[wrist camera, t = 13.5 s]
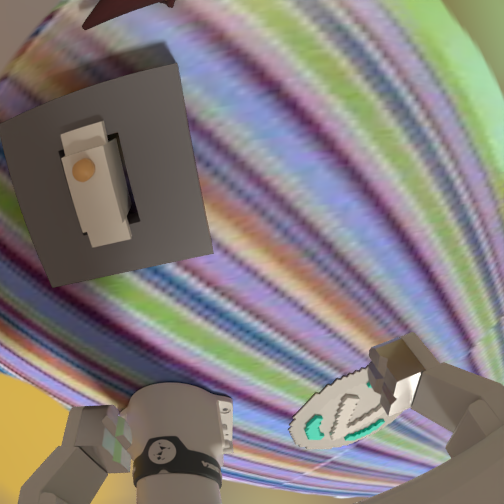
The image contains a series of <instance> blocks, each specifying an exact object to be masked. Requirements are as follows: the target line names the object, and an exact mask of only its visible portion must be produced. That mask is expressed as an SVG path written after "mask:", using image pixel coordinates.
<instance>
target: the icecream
mask: <svg viewBox="0 0 504 504" xmlns="http://www.w3.org/2000/svg"><path fill="white" fill-rule="evenodd" d="M158 2H160V3H164V4H166V5H167V6H168V7H171V8H173V6H174V2H175V0H100V1H99V2H98V4H97V5H96V6H95V8H94V9H93V10H92V12H91V13H90V15H89V16H88V17H87V19H86V20H85V22H84V23H83V25H82V28H83V29H84V30H87V29H90V28H92V27H94V26H96V25H99V24H101V23H103V22H106V21H108V20H110V19H113V18H115V17H118V16H120V15H123V14H126V13H128V12H131V11H134V10H137V9H140V8H143V7H145V6H149V5H152V4H155V3H158Z"/></svg>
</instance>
